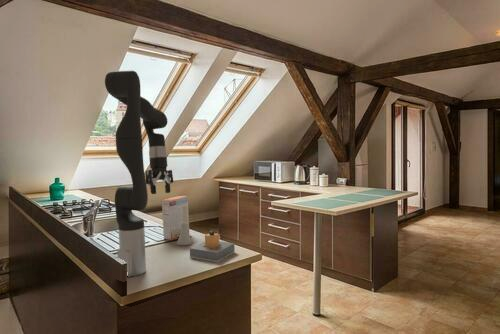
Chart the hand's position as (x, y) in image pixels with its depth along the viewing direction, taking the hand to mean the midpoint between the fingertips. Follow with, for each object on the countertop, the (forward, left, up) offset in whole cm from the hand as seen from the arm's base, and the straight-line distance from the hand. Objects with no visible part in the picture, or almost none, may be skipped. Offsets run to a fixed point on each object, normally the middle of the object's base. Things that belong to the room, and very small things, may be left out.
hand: (161, 193), depth 150 cm
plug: (+7, -22, -26) cm, 35 cm away
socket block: (+7, -22, -27) cm, 35 cm away
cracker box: (+23, +12, -27) cm, 38 cm away
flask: (+15, 0, -27) cm, 31 cm away
